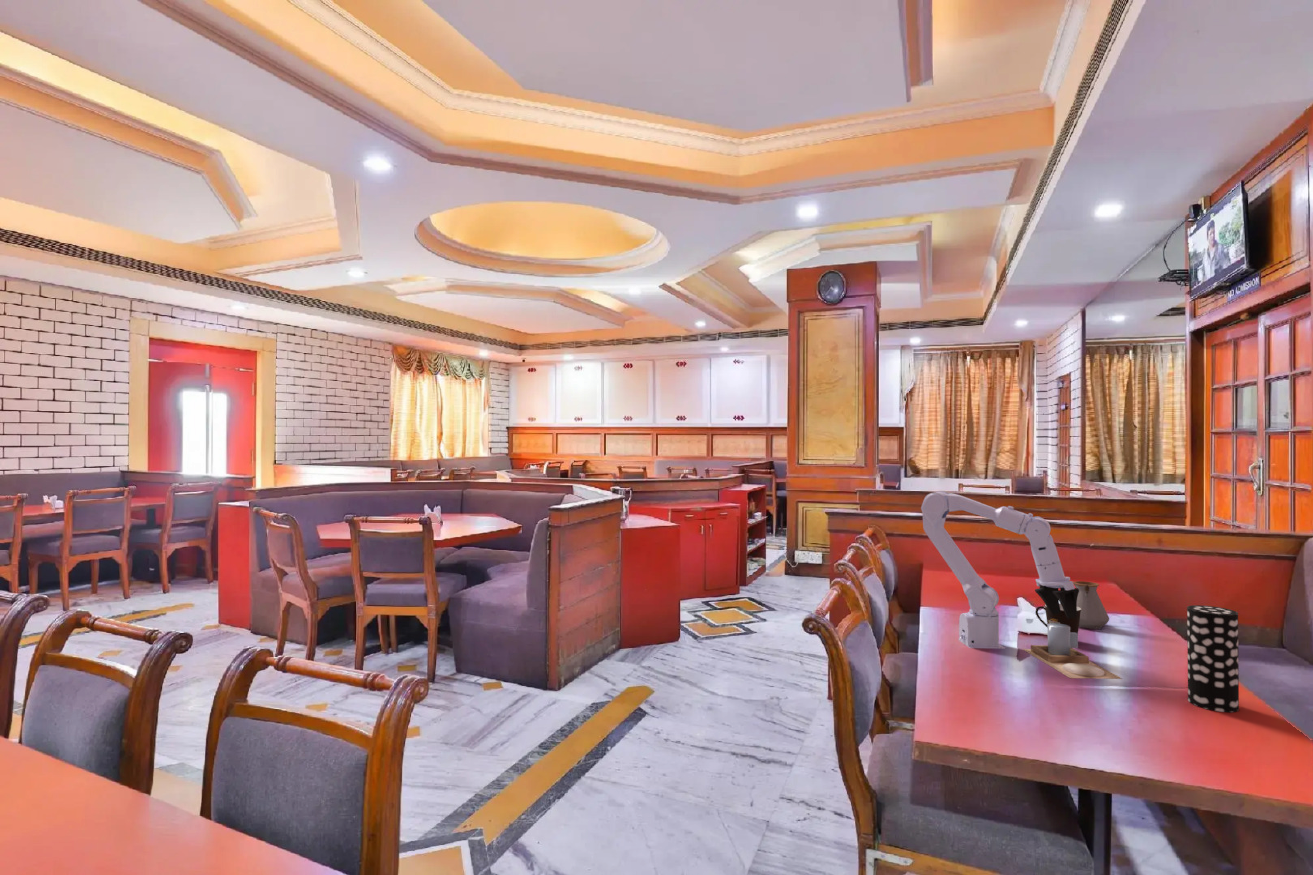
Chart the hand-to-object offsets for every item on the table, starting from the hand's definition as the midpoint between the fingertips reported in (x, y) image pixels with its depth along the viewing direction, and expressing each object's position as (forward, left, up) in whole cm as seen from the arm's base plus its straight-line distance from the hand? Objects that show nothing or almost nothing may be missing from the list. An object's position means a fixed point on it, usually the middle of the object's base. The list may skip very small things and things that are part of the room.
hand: (1064, 615), depth 172 cm
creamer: (-2, -1, -10) cm, 11 cm away
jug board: (-2, -6, -11) cm, 12 cm away
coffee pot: (+22, +28, -11) cm, 37 cm away
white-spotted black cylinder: (+14, -30, -11) cm, 35 cm away
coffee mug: (+7, +15, -11) cm, 20 cm away
